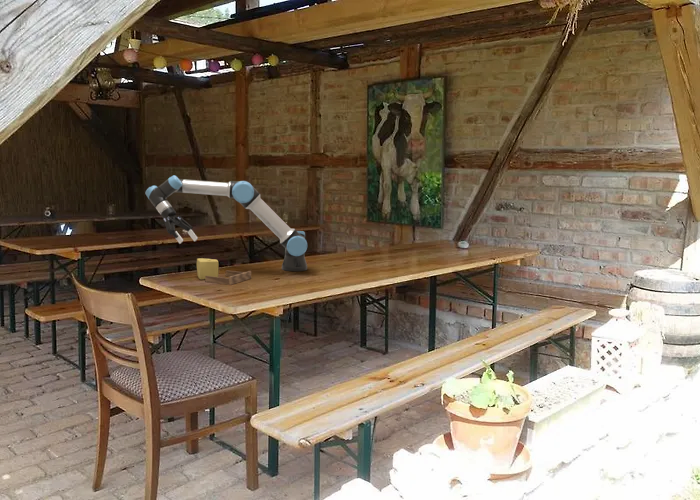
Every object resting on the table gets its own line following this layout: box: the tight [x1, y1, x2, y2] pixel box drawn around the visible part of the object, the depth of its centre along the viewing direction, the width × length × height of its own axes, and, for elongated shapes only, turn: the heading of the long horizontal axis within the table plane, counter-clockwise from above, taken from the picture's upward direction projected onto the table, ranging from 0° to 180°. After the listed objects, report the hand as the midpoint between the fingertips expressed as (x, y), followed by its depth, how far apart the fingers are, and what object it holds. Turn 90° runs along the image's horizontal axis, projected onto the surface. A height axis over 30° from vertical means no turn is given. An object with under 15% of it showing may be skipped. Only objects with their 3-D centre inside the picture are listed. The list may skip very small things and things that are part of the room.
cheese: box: [196, 257, 219, 280], centre depth 328 cm, size 10×11×10 cm
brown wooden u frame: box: [204, 270, 252, 286], centre depth 324 cm, size 20×15×4 cm
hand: (189, 241), depth 329 cm, fingers open, 13 cm apart
